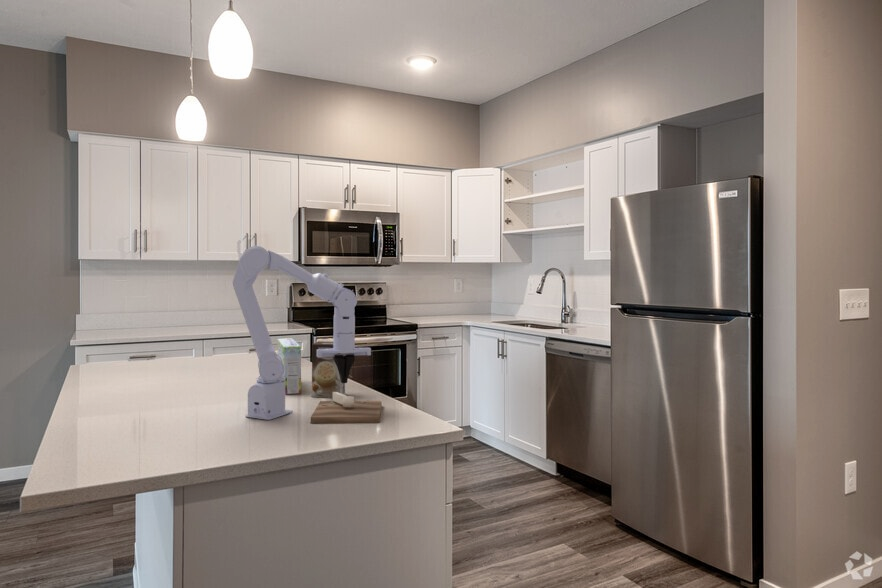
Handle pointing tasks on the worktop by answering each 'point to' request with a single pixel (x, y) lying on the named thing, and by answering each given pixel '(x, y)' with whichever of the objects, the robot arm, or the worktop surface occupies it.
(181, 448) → the worktop surface
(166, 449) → the worktop surface
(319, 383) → the coffee box
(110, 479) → the worktop surface
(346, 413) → the board
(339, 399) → the white bulb ended bar
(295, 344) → the snack box
